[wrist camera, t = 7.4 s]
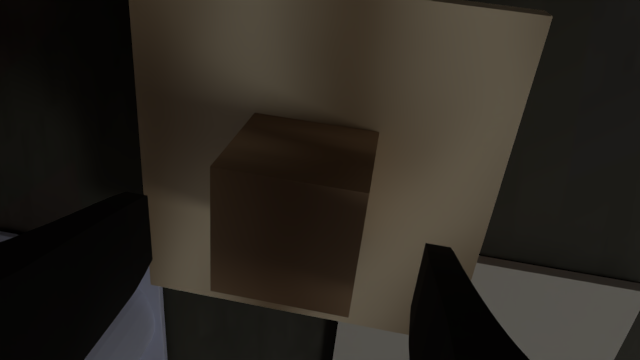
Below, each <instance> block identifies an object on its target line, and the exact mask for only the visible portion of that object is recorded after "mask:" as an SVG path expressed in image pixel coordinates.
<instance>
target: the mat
mask: <svg viewBox="0 0 640 360" xmlns="http://www.w3.org/2000/svg"><path fill="white" fill-rule="evenodd" d="M471 282H472V284H473V285H474V287H475V289H476V290H477V292H478V293H479V295H480V296H481V298H482V299H483V301H484V302H485V304H486V305H487V307H488V308H489V310H490V311H491V313H492V314H493V315H494V317H495V318H496V320H497V321H498V322H499V324H500V325H501V326H502V328H503V329H504V330H505V332H506V333H507V334H508V335H509V337H510V338H511V339H512V340H513V341H514V343H515V344H516V345H517V346H518V347H519V348H520V349H521V351H522V352H523V353H524V354H525V355H526V356H527V357H528V358H529V359H530V360H614V358H615V356H616V355H617V353H618V351H619V349H620V347H621V345H622V343H623V341H624V339H625V337H626V335H627V334H628V332H629V330H630V328H631V326H632V324H633V322H634V320H635V318H636V316H637V315H638V313H639V311H640V283H634V282H629V281H623V280H617V279H611V278H606V277H600V276H594V275H588V274H582V273H577V272H571V271H565V270H559V269H553V268H548V267H542V266H536V265H530V264H525V263H519V262H513V261H507V260H501V259H496V258H490V257H484V256H479V257H478V260H477V263H476V266H475V269H474V273H473V276H472V279H471ZM333 360H409V335H406V334H401V333H396V332H390V331H385V330H380V329H375V328H370V327H365V326H360V325H355V324H349V323H344V322H339V321H338V327H337V334H336V340H335V347H334V354H333Z"/></svg>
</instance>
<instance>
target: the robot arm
mask: <svg viewBox="0 0 640 360" xmlns="http://www.w3.org/2000/svg"><path fill="white" fill-rule="evenodd" d="M152 259H153V257H152V245H151V232H150V220H149V207H148V196H147V195H141V194H135V193H129V192H124V193H121V194H118V195H115V196H112V197H110V198H107V199H105V200H103V201H100V202H98V203H95V204H93V205H91V206H89V207H86V208H84V209H82V210H79V211H77V212H75V213H72V214H70V215H68V216H65V217H63V218H61V219H58V220H56V221H54V222H51V223H49V224H46V225H44V226H41V227H39V228H36V229H34V230H31V231H28V232H26V233H23V234H21V235H18V234H13V233H7V232H2V231H0V360H167V346H166V331H165V317H164V303H163V288H162V287H160V286H155V285H151V282H150V269H149V265H150V263H151V261H152ZM409 360H530V359H529V358H528V357H527V356H526V355H525V354H524V353H523V352H522V351H521V349H520V348H519V347H518V346H517V345H516V344H515V343H514V341H513V340H512V339H511V338H510V337H509V335H508V334H507V333H506V332H505V330H504V329H503V328H502V326H501V325H500V324H499V322H498V321H497V320H496V318H495V317H494V315H493V314H492V313H491V311H490V310H489V308H488V307H487V305H486V304H485V302H484V301H483V299H482V298H481V296H480V295H479V293H478V292H477V290H476V289H475V287H474V285H473V284H472V282H471V280H470V279H469V277H468V275H467V274H466V272H465V270H464V269H463V267H462V265H461V263H460V262H459V260H458V258H457V256H456V255H455V253H454V251H453V250H452V248H451V247H446V246H440V245H435V244H429V243H425V248H424V252H423V256H422V260H421V265H420V269H419V273H418V277H417V282H416V286H415V290H414V294H413V299H412V303H411V309H410V324H409Z"/></svg>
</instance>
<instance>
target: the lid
mask: <svg viewBox="0 0 640 360" xmlns="http://www.w3.org/2000/svg"><path fill="white" fill-rule="evenodd" d="M129 11H130V23H131V36H132V49H133V62H134V75H135V88H136V101H137V114H138V127H139V140H140V153H141V165H142V178H143V191H144V195H147V196H148V207H149V220H150V232H151V245H152V257H153V259H152V261H151V263H150V265H149V269H150V282H151V285H155V286H160V287H165V288H170V289H175V290H180V291H186V292H191V293H196V294H201V295H206V296H211V297H216V298H221V299H227V300H232V301H237V302H242V303H247V304H252V305H257V306H262V307H268V308H273V309H278V310H283V311H288V312H293V313H298V314H303V315H309V316H314V317H319V318H324V319H329V320H334V321H339V322H344V323H349V324H355V325H360V326H365V327H370V328H375V329H380V330H385V331H390V332H396V333H401V334H406V335H409V324H410V309H411V303H412V299H413V294H414V290H415V286H416V282H417V277H418V273H419V269H420V265H421V260H422V256H423V252H424V248H425V243H429V244H435V245H440V246H446V247H451V248H452V250H453V251H454V253H455V255H456V256H457V258H458V260H459V262H460V263H461V265H462V267H463V269H464V270H465V272H466V274H467V275H468V277H469V279H470V280H471V279H472V276H473V273H474V269H475V266H476V263H477V260H478V257H479V253H480V250H481V247H482V244H483V240H484V237H485V234H486V231H487V227H488V224H489V221H490V218H491V215H492V211H493V208H494V205H495V202H496V198H497V195H498V192H499V189H500V186H501V182H502V179H503V176H504V173H505V169H506V166H507V163H508V160H509V156H510V153H511V150H512V147H513V144H514V140H515V137H516V134H517V131H518V127H519V124H520V121H521V118H522V114H523V111H524V108H525V105H526V102H527V98H528V95H529V92H530V89H531V85H532V82H533V79H534V76H535V72H536V69H537V66H538V63H539V60H540V56H541V53H542V50H543V47H544V43H545V40H546V37H547V34H548V30H549V27H550V24H551V21H552V18H553V16H551V15H550V14H548V13H547V12H546V11H544V10H536V9H528V8H520V7H512V6H505V5H497V4H489V3H481V2H473V1H465V0H129Z"/></svg>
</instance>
